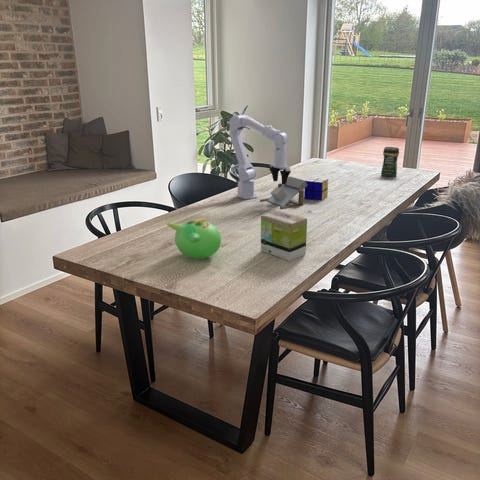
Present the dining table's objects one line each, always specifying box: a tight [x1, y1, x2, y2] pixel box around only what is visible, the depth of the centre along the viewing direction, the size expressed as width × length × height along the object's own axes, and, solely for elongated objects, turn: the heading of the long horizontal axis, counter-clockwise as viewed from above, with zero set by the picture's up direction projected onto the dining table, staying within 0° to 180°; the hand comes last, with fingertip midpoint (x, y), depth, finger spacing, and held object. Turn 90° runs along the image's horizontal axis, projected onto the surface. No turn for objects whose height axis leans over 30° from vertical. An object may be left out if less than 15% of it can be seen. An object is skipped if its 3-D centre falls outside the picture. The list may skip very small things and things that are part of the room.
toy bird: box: [166, 217, 222, 260], centre depth 182 cm, size 18×17×15 cm
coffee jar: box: [380, 146, 400, 178], centre depth 314 cm, size 10×8×19 cm
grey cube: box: [270, 186, 287, 201], centre depth 253 cm, size 5×5×5 cm
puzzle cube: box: [303, 177, 329, 202], centre depth 264 cm, size 10×10×10 cm
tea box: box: [260, 210, 308, 262], centre depth 184 cm, size 15×10×15 cm, turn 45°
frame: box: [259, 182, 305, 210], centre depth 255 cm, size 19×14×8 cm
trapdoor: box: [267, 175, 307, 207], centre depth 256 cm, size 16×18×3 cm
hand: (279, 182), depth 255 cm, fingers open, 7 cm apart
